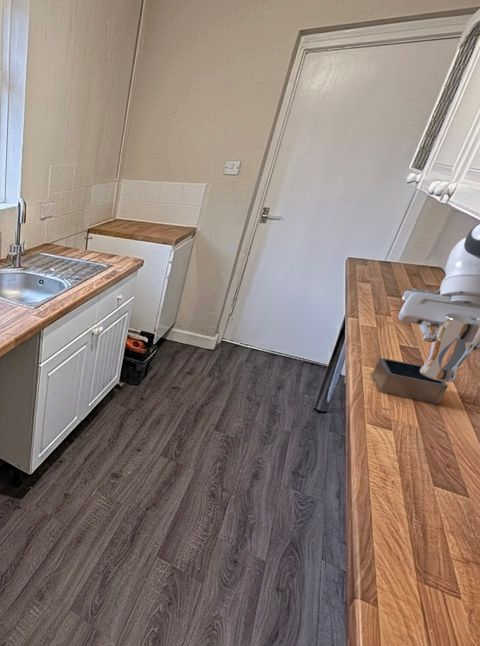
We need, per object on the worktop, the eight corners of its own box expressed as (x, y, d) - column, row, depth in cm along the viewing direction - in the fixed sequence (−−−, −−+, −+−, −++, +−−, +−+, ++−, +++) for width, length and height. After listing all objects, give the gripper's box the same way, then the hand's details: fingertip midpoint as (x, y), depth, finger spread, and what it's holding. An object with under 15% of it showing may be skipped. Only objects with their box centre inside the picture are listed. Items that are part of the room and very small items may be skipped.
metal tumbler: (411, 372, 101) (438, 316, 95) (423, 366, 104) (450, 311, 98) (451, 385, 96) (482, 326, 90) (462, 378, 99) (493, 321, 93)
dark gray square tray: (425, 385, 119) (434, 368, 117) (438, 404, 110) (448, 386, 108) (372, 374, 125) (379, 357, 122) (379, 391, 116) (388, 373, 114)
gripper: (409, 280, 103) (396, 328, 100) (540, 298, 91) (528, 353, 88) (401, 293, 108) (388, 338, 105) (524, 311, 95) (512, 363, 92)
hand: (453, 345), depth 96 cm, fingers closed on metal tumbler, 7 cm apart
